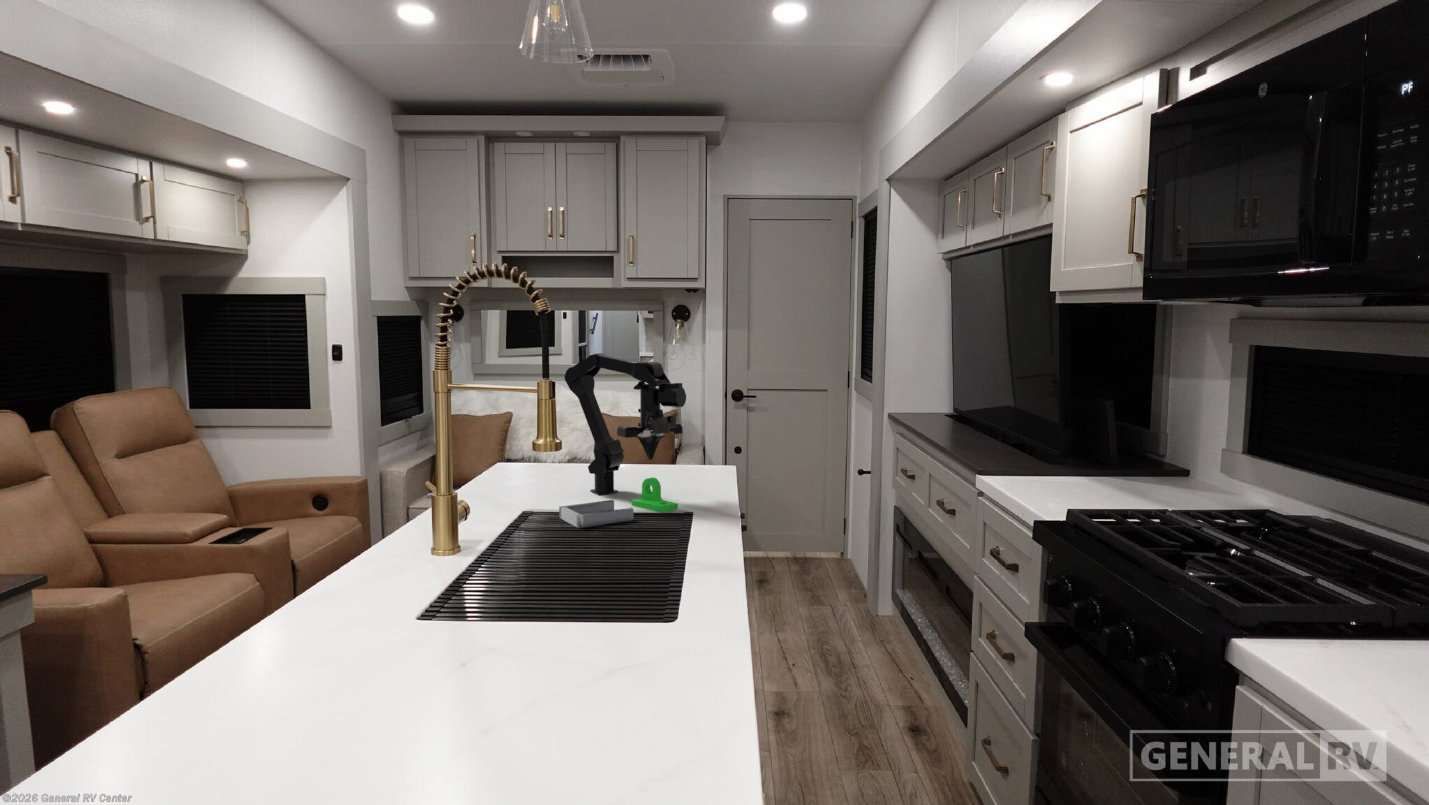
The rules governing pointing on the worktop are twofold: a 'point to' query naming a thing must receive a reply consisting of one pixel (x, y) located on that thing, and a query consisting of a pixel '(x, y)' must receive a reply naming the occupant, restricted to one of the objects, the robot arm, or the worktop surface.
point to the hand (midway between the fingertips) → (650, 459)
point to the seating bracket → (594, 514)
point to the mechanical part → (653, 497)
